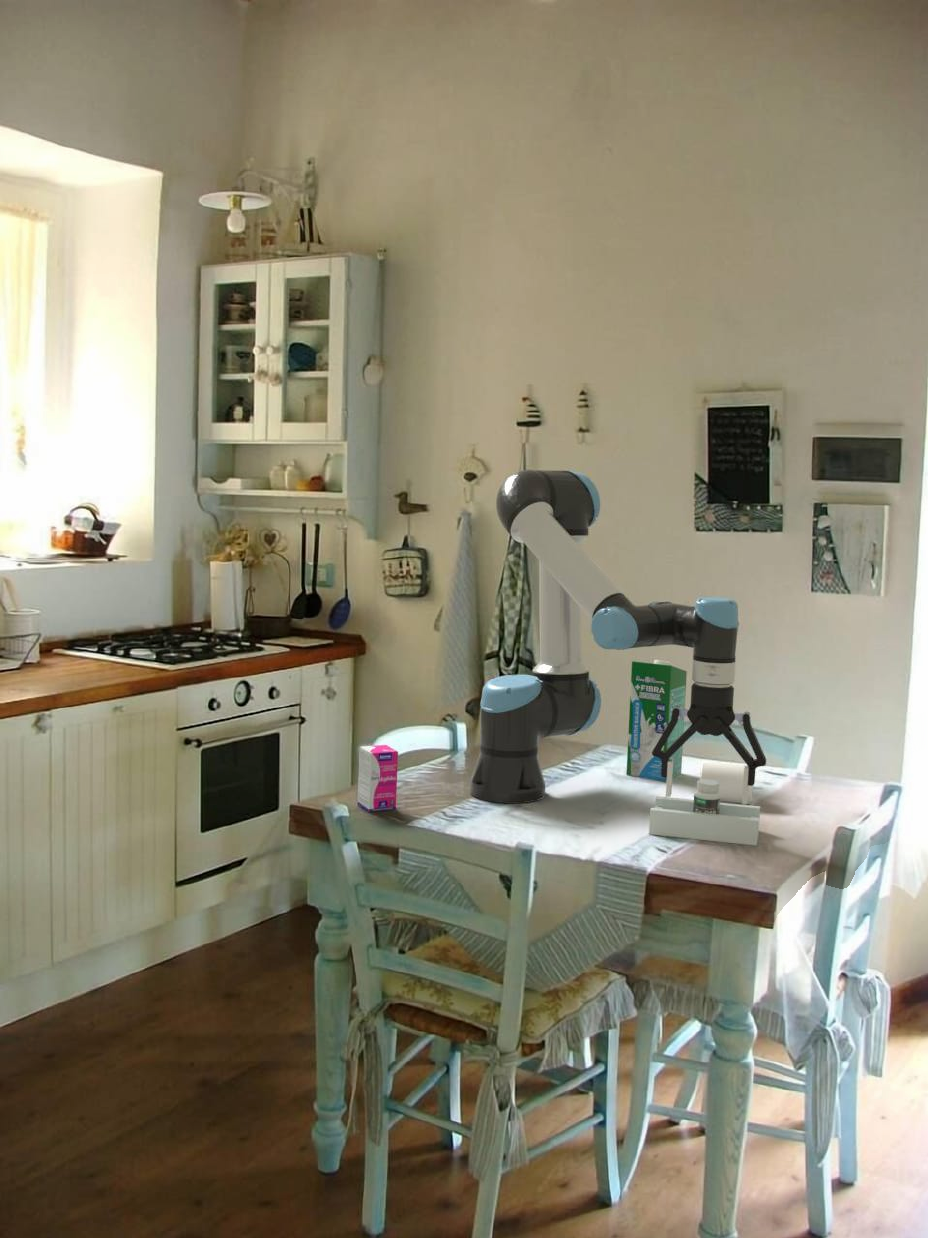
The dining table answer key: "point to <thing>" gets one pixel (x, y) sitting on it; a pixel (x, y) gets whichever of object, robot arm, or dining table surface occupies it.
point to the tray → (705, 821)
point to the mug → (727, 780)
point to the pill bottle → (707, 797)
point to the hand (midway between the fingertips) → (706, 799)
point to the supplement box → (377, 778)
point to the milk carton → (654, 716)
